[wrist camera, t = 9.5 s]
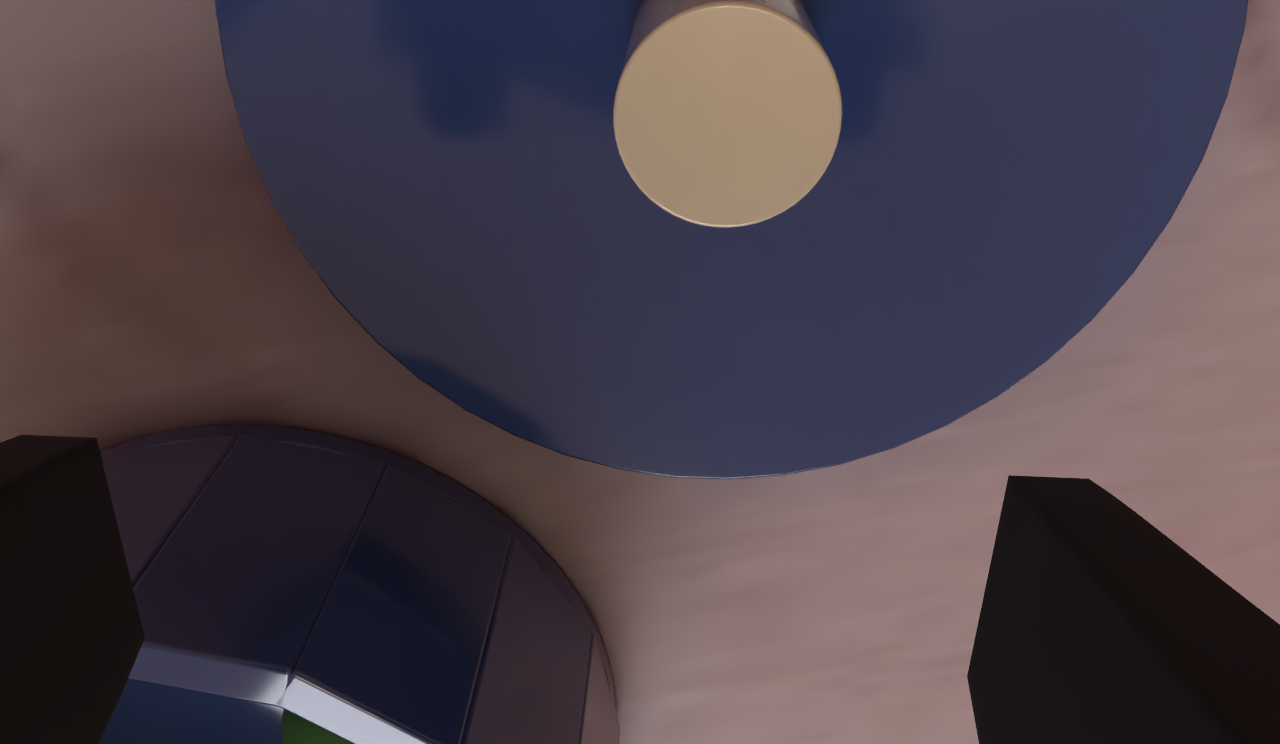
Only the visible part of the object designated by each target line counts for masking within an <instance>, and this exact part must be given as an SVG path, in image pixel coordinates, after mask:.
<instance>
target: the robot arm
mask: <svg viewBox="0 0 1280 744" xmlns="http://www.w3.org/2000/svg"><path fill="white" fill-rule="evenodd" d="M144 639H145V636H144V632H143V628H142V624H141V620H140V615H139V611H138V607H137V603H136V599H135V595H134V591H133V586H132V582H131V578H130V574H129V570H128V566H127V562H126V558H125V553H124V549H123V545H122V541H121V537H120V533H119V529H118V524H117V520H116V516H115V512H114V508H113V504H112V500H111V496H110V491H109V487H108V483H107V479H106V475H105V471H104V467H103V462H102V458H101V454H100V450H99V446H98V442H97V438H84V437H59V436H35V435H20V436H18V437H15V438H12V439H9V440H7V441H4V442H1V443H0V744H99V742H100V740H101V738H102V735H103V733H104V731H105V729H106V727H107V725H108V722H109V720H110V718H111V716H112V714H113V712H114V710H115V707H116V705H117V703H118V701H119V699H120V696H121V694H122V692H123V689H124V687H125V684H126V682H127V680H128V677H129V675H130V672H131V670H132V668H133V665H134V663H135V661H136V658H137V656H138V653H139V651H140V649H141V646H142V644H143V641H144ZM967 677H968V683H969V689H970V694H971V700H972V706H973V711H974V717H975V722H976V728H977V734H978V739H979V744H1280V625H1279V624H1278V623H1277V622H1275V621H1274V620H1273V619H1272V618H1270V617H1269V616H1268V615H1266V614H1265V613H1264V612H1262V611H1261V610H1260V609H1258V608H1257V607H1256V606H1255V605H1253V604H1252V603H1251V602H1249V601H1248V600H1247V599H1246V598H1244V597H1243V596H1242V595H1240V594H1239V593H1238V592H1237V591H1235V590H1234V589H1233V588H1231V587H1230V586H1229V585H1228V584H1226V583H1225V582H1224V581H1222V580H1221V579H1220V578H1219V577H1217V576H1216V575H1215V574H1214V573H1212V572H1211V571H1210V570H1208V569H1207V568H1206V567H1205V566H1203V565H1202V564H1201V563H1200V562H1198V561H1197V560H1196V559H1194V558H1193V557H1192V556H1191V555H1189V554H1188V553H1187V552H1186V551H1184V550H1183V549H1182V548H1181V547H1179V546H1178V545H1177V544H1175V543H1174V542H1173V541H1172V540H1170V539H1169V538H1168V537H1167V536H1165V535H1164V534H1163V533H1161V532H1160V531H1159V530H1158V529H1156V528H1155V527H1154V526H1152V525H1151V524H1150V523H1149V522H1147V521H1146V520H1145V519H1143V518H1142V517H1141V516H1140V515H1138V514H1137V513H1136V512H1134V511H1133V510H1132V509H1130V508H1129V507H1128V506H1126V505H1125V504H1124V503H1122V502H1121V501H1120V500H1118V499H1117V498H1116V497H1114V496H1113V495H1111V494H1110V493H1109V492H1107V491H1106V490H1104V489H1103V488H1101V487H1100V486H1098V485H1097V484H1096V483H1094V482H1093V481H1091V480H1089V479H1080V478H1056V477H1032V476H1009V477H1008V482H1007V487H1006V492H1005V496H1004V501H1003V506H1002V511H1001V516H1000V521H999V525H998V530H997V535H996V540H995V545H994V550H993V555H992V559H991V564H990V569H989V574H988V579H987V584H986V588H985V593H984V598H983V603H982V608H981V613H980V617H979V622H978V627H977V632H976V637H975V642H974V646H973V651H972V656H971V661H970V666H969V671H968V675H967Z"/></svg>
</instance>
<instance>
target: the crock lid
mask: <svg viewBox="0 0 1280 744" xmlns="http://www.w3.org/2000/svg"><path fill="white" fill-rule="evenodd" d="M1247 6H1248V0H215V7H216V14H217V20H218V26H219V32H220V39H221V45H222V51H223V57H224V64H225V70H226V76H227V79H228V83H229V86H230V90H231V93H232V96H233V100H234V103H235V107H236V110H237V114H238V117H239V121H240V124H241V128H242V131H243V135H244V138H245V141H246V143H247V145H248V148H249V150H250V152H251V155H252V157H253V159H254V162H255V164H256V167H257V169H258V171H259V174H260V176H261V178H262V181H263V183H264V185H265V188H266V190H267V192H268V195H269V197H270V199H271V201H272V202H273V204H274V206H275V208H276V209H277V211H278V213H279V215H280V216H281V218H282V220H283V222H284V223H285V225H286V227H287V229H288V230H289V232H290V234H291V236H292V237H293V239H294V241H295V243H296V244H297V246H298V248H299V250H300V251H301V253H302V254H303V255H304V257H305V258H306V259H307V261H308V262H309V263H310V265H311V266H312V267H313V269H314V270H315V272H316V273H317V274H318V276H319V277H320V278H321V280H322V281H323V282H324V284H325V285H326V286H327V288H328V289H329V291H330V292H331V293H332V295H333V296H334V297H335V299H336V300H337V301H338V302H339V303H340V304H341V305H342V306H343V307H344V308H345V309H346V310H347V312H348V313H349V314H350V315H351V316H352V317H353V318H354V319H355V320H356V321H357V322H358V323H359V324H360V325H361V327H362V328H363V329H364V330H365V331H366V332H367V333H368V334H369V335H370V336H371V337H372V338H373V339H374V340H375V342H377V343H378V344H379V345H380V346H381V347H382V348H384V349H385V350H386V351H387V352H388V353H390V354H391V355H392V356H393V357H394V358H395V359H397V360H398V361H399V362H400V363H401V364H402V365H404V366H405V367H406V368H407V369H408V370H410V371H411V372H412V373H413V374H414V375H415V376H417V377H418V378H419V379H420V380H422V381H423V382H425V383H426V384H428V385H429V386H431V387H432V388H434V389H435V390H437V391H438V392H440V393H441V394H443V395H444V396H446V397H447V398H449V399H450V400H452V401H453V402H455V403H456V404H458V405H459V406H460V407H462V408H463V409H465V410H466V411H468V412H470V413H472V414H474V415H476V416H478V417H480V418H482V419H484V420H486V421H488V422H490V423H492V424H494V425H495V426H497V427H499V428H501V429H503V430H505V431H507V432H509V433H511V434H513V435H515V436H517V437H520V438H522V439H525V440H527V441H530V442H533V443H535V444H538V445H540V446H543V447H546V448H548V449H551V450H554V451H556V452H559V453H561V454H564V455H567V456H570V457H574V458H578V459H582V460H585V461H589V462H593V463H597V464H601V465H605V466H609V467H612V468H616V469H620V470H627V471H634V472H641V473H648V474H654V475H661V476H668V477H677V478H707V479H739V478H752V477H765V476H778V475H787V474H793V473H798V472H803V471H808V470H814V469H819V468H824V467H830V466H835V465H840V464H843V463H847V462H850V461H853V460H856V459H860V458H863V457H866V456H870V455H873V454H876V453H879V452H883V451H886V450H889V449H893V448H895V447H897V446H900V445H902V444H904V443H907V442H909V441H911V440H914V439H916V438H918V437H921V436H923V435H925V434H928V433H930V432H932V431H935V430H937V429H939V428H942V427H944V426H946V425H948V424H950V423H952V422H953V421H955V420H957V419H959V418H961V417H962V416H964V415H966V414H968V413H969V412H971V411H973V410H975V409H976V408H978V407H980V406H982V405H984V404H985V403H987V402H989V401H991V400H992V399H994V398H996V397H998V396H999V395H1000V394H1002V393H1003V392H1005V391H1006V390H1007V389H1009V388H1010V387H1011V386H1013V385H1014V384H1016V383H1017V382H1018V381H1020V380H1021V379H1023V378H1024V377H1025V376H1027V375H1028V374H1030V373H1031V372H1032V371H1034V370H1035V369H1036V368H1038V367H1039V366H1041V365H1042V364H1043V363H1045V362H1046V361H1047V360H1048V359H1049V358H1051V357H1052V356H1053V355H1054V354H1055V353H1056V352H1057V351H1058V350H1059V349H1060V348H1062V347H1063V346H1064V345H1065V344H1066V343H1067V342H1068V341H1069V340H1070V339H1072V338H1073V337H1074V336H1075V335H1076V334H1077V333H1078V332H1079V331H1080V330H1081V329H1083V328H1084V327H1085V326H1086V325H1087V324H1088V323H1089V322H1090V321H1091V320H1092V319H1093V318H1094V317H1095V316H1096V315H1097V314H1098V312H1099V311H1100V310H1101V309H1102V308H1103V307H1104V306H1105V305H1106V303H1107V302H1108V301H1109V300H1110V299H1111V298H1112V297H1113V295H1114V294H1115V293H1116V292H1117V291H1118V290H1119V289H1120V288H1121V286H1122V285H1123V284H1124V283H1125V282H1126V281H1127V280H1128V278H1129V277H1130V276H1131V275H1132V274H1133V273H1134V271H1135V270H1136V268H1137V267H1138V266H1139V264H1140V263H1141V261H1142V260H1143V258H1144V257H1145V255H1146V254H1147V253H1148V251H1149V250H1150V248H1151V247H1152V245H1153V244H1154V243H1155V241H1156V240H1157V238H1158V237H1159V235H1160V234H1161V233H1162V231H1163V230H1164V228H1165V227H1166V225H1167V224H1168V222H1169V221H1170V220H1171V218H1172V216H1173V214H1174V212H1175V210H1176V208H1177V207H1178V205H1179V203H1180V201H1181V199H1182V197H1183V195H1184V193H1185V192H1186V190H1187V188H1188V186H1189V184H1190V182H1191V180H1192V179H1193V177H1194V175H1195V173H1196V171H1197V169H1198V167H1199V165H1200V164H1201V162H1202V160H1203V157H1204V154H1205V152H1206V149H1207V147H1208V144H1209V142H1210V139H1211V137H1212V134H1213V131H1214V129H1215V126H1216V124H1217V121H1218V119H1219V116H1220V114H1221V111H1222V108H1223V106H1224V103H1225V101H1226V98H1227V95H1228V91H1229V87H1230V83H1231V80H1232V76H1233V72H1234V68H1235V64H1236V60H1237V56H1238V52H1239V48H1240V44H1241V41H1242V37H1243V33H1244V29H1245V21H1246V14H1247Z"/></svg>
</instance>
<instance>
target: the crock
mask: <svg viewBox="0 0 1280 744" xmlns="http://www.w3.org/2000/svg"><path fill="white" fill-rule="evenodd" d="M100 454H101V458H102V462H103V467H104V471H105V475H106V479H107V483H108V487H109V491H110V496H111V500H112V504H113V508H114V512H115V516H116V520H117V524H118V529H119V533H120V537H121V541H122V545H123V549H124V553H125V558H126V562H127V566H128V570H129V574H130V578H131V582H132V586H133V591H134V595H135V599H136V603H137V607H138V611H139V615H140V620H141V624H142V628H143V632H144V636H145V639H144V641H143V644H142V646H141V649H140V651H139V653H138V656H137V658H136V661H135V663H134V665H133V668H132V670H131V672H130V675H129V677H128V680H127V682H126V684H125V687H124V689H123V692H122V694H121V696H120V699H119V701H118V703H117V705H116V707H115V710H114V712H113V714H112V716H111V718H110V720H109V722H108V725H107V727H106V729H105V731H104V733H103V735H102V738H101V740H100V742H99V744H282V715H283V710H286V711H288V712H290V713H292V714H294V715H296V716H298V717H300V718H302V719H304V720H306V721H308V722H310V723H312V724H314V725H316V726H318V727H320V728H322V729H324V730H326V731H328V732H330V733H332V734H334V735H336V736H338V737H340V738H342V739H344V740H346V741H348V742H350V743H352V744H619V737H620V734H619V733H620V727H619V724H618V720H617V716H616V712H615V692H614V686H613V680H612V674H611V669H610V663H609V660H608V657H607V655H606V652H605V649H604V646H603V643H602V640H601V637H600V634H599V632H598V629H597V627H596V626H595V624H594V622H593V620H592V618H591V616H590V614H589V612H588V610H587V609H586V607H585V605H584V603H583V601H582V599H581V597H580V596H579V594H578V593H577V592H576V590H575V589H574V588H573V586H572V585H571V583H570V582H569V581H568V579H567V578H566V576H565V575H564V574H563V572H562V571H561V570H560V568H559V567H558V565H557V564H556V563H555V562H554V561H553V560H552V559H551V558H550V557H549V556H548V555H547V554H546V553H545V552H544V551H543V550H542V549H541V547H540V546H539V545H538V544H537V543H536V542H535V541H534V540H533V539H532V538H531V537H530V536H529V535H528V534H527V533H526V532H524V531H523V530H522V529H521V528H520V527H518V526H517V525H516V524H515V523H514V522H512V521H511V520H510V519H509V518H508V517H506V516H505V515H504V514H503V513H501V512H500V511H499V510H498V509H497V508H495V507H494V506H492V505H491V504H489V503H488V502H486V501H485V500H483V499H482V498H480V497H479V496H477V495H475V494H474V493H472V492H471V491H469V490H468V489H466V488H465V487H463V486H462V485H460V484H459V483H457V482H455V481H453V480H451V479H449V478H447V477H445V476H443V475H441V474H439V473H437V472H435V471H433V470H431V469H429V468H427V467H425V466H423V465H421V464H419V463H417V462H415V461H413V460H410V459H407V458H405V457H402V456H399V455H397V454H394V453H391V452H389V451H386V450H383V449H381V448H378V447H375V446H373V445H370V444H366V443H362V442H358V441H354V440H350V439H346V438H343V437H339V436H335V435H331V434H327V433H323V432H316V431H309V430H302V429H295V428H288V427H281V426H270V425H239V424H225V425H213V426H201V427H190V428H181V429H177V430H172V431H167V432H162V433H158V434H153V435H148V436H144V437H139V438H136V439H134V440H131V441H128V442H125V443H123V444H120V445H117V446H114V447H111V448H109V449H106V450H103V451H100Z"/></svg>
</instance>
